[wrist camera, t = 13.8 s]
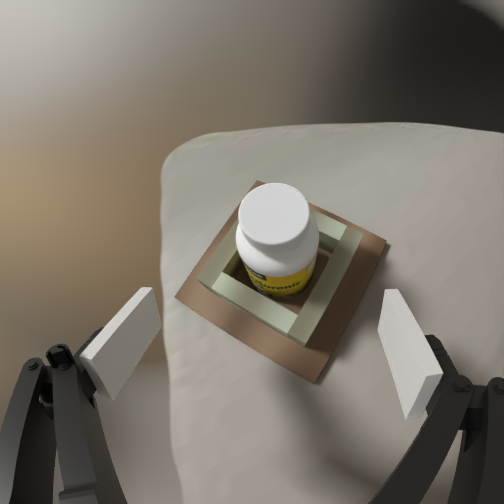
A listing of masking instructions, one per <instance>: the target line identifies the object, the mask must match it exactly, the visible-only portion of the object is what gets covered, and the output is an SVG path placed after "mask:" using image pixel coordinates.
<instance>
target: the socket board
mask: <svg viewBox="0 0 504 504" xmlns="http://www.w3.org/2000/svg"><path fill="white" fill-rule="evenodd" d="M264 184H265V183H263V182H260V181H258V180H257V181H256V182H255V184H254V185H253V186H252V188H251V189H250V190H249V192H250V191H252V190H253V189H255V188H257V187H259V186H261V185H264ZM249 192H248V193H249ZM248 193H247V194H248ZM247 194H246V195H247ZM241 202H242V201H241ZM240 204H241V203H240ZM240 204H239V205H238V207H237V208H236V210H235V211H234V212H233V214H232V215H231V216H230V218H229V219H228V221H227V222H226V223H225V225H224V226H223V228H222V229H221V230H220V232H219V233H218V235H217V236H216V237H215V239H214V240H213V242H212V243H211V245H210V246H209V247H208V249H207V250H206V252H205V253H204V255H203V256H202V257H201V259H200V260H199V262H198V263H197V265H196V266H195V268H194V269H193V270H192V272H191V273H190V275H189V276H188V278H187V279H186V281H185V282H184V284H183V285H182V287H181V288H180V290H179V291H178V292H177V294H176V295H175V298H176V299H178V300H179V301H181V302H182V303H183V304H185V305H186V306H188V307H189V308H191V309H192V310H194V311H195V312H197V313H198V314H199V315H201V316H202V317H204V318H205V319H207V320H208V321H210V322H211V323H213V324H215V325H216V326H218V327H219V328H221V329H222V330H224V331H225V332H227V333H228V334H230V335H232V336H233V337H235V338H236V339H238V340H240V341H241V342H243V343H244V344H246V345H248V346H249V347H251V348H252V349H254V350H256V351H257V352H259V353H261V354H262V355H264V356H266V357H267V358H269V359H271V360H273V361H274V362H276V363H278V364H279V365H281V366H283V367H285V368H286V369H288V370H290V371H292V372H293V373H295V374H297V375H299V376H301V377H302V378H304V379H306V380H308V381H310V382H311V383H313V384H314V382H315V381H316V379H317V377H318V376H319V374H320V372H321V371H322V369H323V367H324V366H325V364H326V362H327V361H328V359H329V357H330V355H331V354H332V352H333V350H334V348H335V347H336V345H337V343H338V341H339V339H340V337H341V336H342V334H343V332H344V330H345V328H346V326H347V324H348V323H349V321H350V319H351V317H352V315H353V313H354V311H355V309H356V307H357V305H358V303H359V301H360V299H361V297H362V295H363V293H364V291H365V289H366V286H367V284H368V282H369V280H370V278H371V276H372V274H373V271H374V269H375V267H376V265H377V262H378V260H379V258H380V255H381V253H382V251H383V248H384V246H385V244H386V240H384V239H383V238H381V237H379V236H377V235H375V234H373V233H371V232H369V231H367V230H365V229H363V228H361V227H359V226H357V225H355V224H353V223H351V222H349V221H347V220H345V219H343V218H340V217H338V216H336V215H334V214H332V213H330V212H328V211H326V210H324V209H321V208H319V207H317V206H315V205H313V204H311V203H308V204H309V208H310V212H311V214H312V215H313V217H314V218H315V220H316V223H317V225H318V229H319V245H318V250H317V256H316V261H315V267H314V272H313V276H312V279H311V281H310V283H309V284H308V286H307V287H306V288H305V290H304V291H302V292H301V293H300V294H298V295H297V296H295V297H292V298H289V299H273V298H270V297H268V296H266V295H264V294H262V293H261V292H260V291H259V290H258V289H257V288H256V287H255V286H254V284H253V282H252V281H251V279H250V276H249V274H248V272H247V270H246V268H245V266H244V263H243V261H242V259H241V257H240V255H239V252H238V249H237V245H236V230H237V227H238V224H239V219H238V212H239V207H240Z"/></svg>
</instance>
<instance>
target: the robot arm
mask: <svg viewBox="0 0 504 504" xmlns="http://www.w3.org/2000/svg"><path fill="white" fill-rule="evenodd" d="M161 327H162V324H161V320H160V316H159V313H158V308H157V305H156V300H155V296H154V292H153V288H144V287H141V289H140V290H139V291H138V292H137V293H136V294H135V295H134V296H133V297H132V298H131V299H130V300H129V301H128V302H127V303H126V305H125V306H124V307H123V308H122V309H121V310H120V311H119V312H118V313H117V314H116V315H115V316H114V318H113V319H112V320H111V321H110V322H109V323H108V324H107V325H106V326H105V327H102V328H100V329H99V330H97V331H95V332H94V334H92V336H91V337H90V339H88V340H87V341H86V343H85V344H83V346H82V347H81V348H80V349H79V350H78V351H77V352H76V354H75V355H74V356H72V354H71V352H70V350H69V347H68V346H67V345H65V344H57V345H55V346H53V347H51V348H50V349H49V350H48V351H47V352H46V357H47V359H48V361H49V363H50V364H51V366H45V365H44V363H43V361H42V359H40V358H32V359H30V360H28V361H27V362H26V363H25V364H24V366H23V368H22V370H21V373H20V375H19V378H18V381H17V383H16V386H15V388H14V391H13V394H12V397H11V399H10V402H9V405H8V408H7V411H6V415H5V418H4V421H3V424H2V428H1V431H0V504H53V478H54V467H55V457H56V448H57V450H58V457H59V463H60V469H61V475H62V480H63V485H64V491H62V492H60V493H59V501H60V504H127V501H126V499H125V496H124V494H123V491H122V489H121V486H120V483H119V480H118V478H117V475H116V472H115V469H114V466H113V463H112V460H111V457H110V453H109V450H108V447H107V443H106V440H105V436H104V432H103V429H102V425H101V420H100V417H99V412H98V408H97V403H96V399H95V397H94V395H93V394H94V393H95V391H96V390H97V391H98V393H99V395H100V397H101V398H104V399H106V400H110V401H114V399H115V398H116V396H117V395H118V393H119V391H120V390H121V388H122V387H123V385H124V383H125V382H126V380H127V379H128V377H129V376H130V374H131V373H132V371H133V369H134V368H135V366H136V365H137V363H138V362H139V360H140V358H141V357H142V356H143V354H144V353H145V351H146V350H147V348H148V346H149V345H150V343H151V342H152V340H153V339H154V337H155V336H156V334H157V333H158V331H159V330H160V328H161ZM377 331H378V333H379V336H380V339H381V342H382V345H383V348H384V351H385V354H386V357H387V360H388V363H389V366H390V369H391V372H392V375H393V378H394V381H395V385H396V388H397V391H398V395H399V398H400V402H401V405H402V409H403V412H404V416H405V420H408V419H414V418H419V417H421V416H422V415H423V413H424V411H425V409H426V411H427V414H428V417H427V419H426V420H425V422H424V424H423V425H422V427H421V429H420V431H419V433H418V434H417V436H416V438H415V439H414V441H413V443H412V444H411V446H410V447H409V449H408V450H407V452H406V454H405V455H404V457H403V458H402V460H401V461H400V463H399V464H398V465H397V467H396V468H395V470H394V471H393V472H392V474H391V475H390V477H389V478H388V479H387V481H386V482H385V483H384V485H383V486H382V487H381V488H380V490H379V491H378V492H377V494H376V495H375V496H374V497H373V498H372V500H371V501H370V502H369V503H368V504H419V503H420V501H421V500H422V498H423V497H424V495H425V493H426V492H427V490H428V489H429V487H430V485H431V483H432V482H433V480H434V478H435V476H436V475H437V473H438V471H439V469H440V467H441V465H442V463H443V461H444V460H445V458H446V456H447V453H448V451H449V449H450V447H451V445H452V443H453V441H454V439H455V436H456V434H457V432H458V430H463V433H462V440H461V446H460V452H459V457H458V463H457V467H456V472H455V476H454V481H453V485H452V489H451V492H450V496H449V499H448V503H447V504H504V378H500V377H495V378H493V379H491V380H490V382H489V383H488V385H487V386H479V385H472V382H471V381H470V380H469V379H468V378H467V377H465V376H462V375H459V374H458V372H457V371H456V369H455V367H454V365H453V363H452V361H451V359H450V357H449V356H448V355H447V352H446V350H445V349H444V347H443V345H442V343H441V341H440V340H439V339H438V338H436V337H435V336H434V335H424V334H423V332H422V330H421V329H420V327H419V325H418V323H417V321H416V319H415V318H414V316H413V314H412V312H411V311H410V309H409V307H408V305H407V304H406V302H405V300H404V299H403V297H402V295H401V294H400V292H399V290H398V289H385V292H384V298H383V304H382V310H381V315H380V320H379V325H378V330H377ZM39 397H40V398H41V399H40V402H39Z"/></svg>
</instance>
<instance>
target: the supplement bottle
mask: <svg viewBox="0 0 504 504" xmlns="http://www.w3.org/2000/svg"><path fill="white" fill-rule="evenodd" d="M238 219H239V224H238V227H237V230H236V245H237V249H238V252H239V255H240V257H241V259H242V261H243V263H244V266H245V268H246V270H247V272H248V274H249V276H250V279H251V281H252V282H253V284H254V286H255V287H256V288H257V289H258V290H259V291H260V292H261V293H262V294H264V295H266V296H268V297H270V298H273V299H289V298H292V297H295V296H297V295H298V294H300V293H301V292H302V291H304V290H305V288H306V287H307V286H308V284H309V283H310V281H311V279H312V276H313V272H314V267H315V261H316V256H317V250H318V245H319V229H318V225H317V223H316V220H315V218H314V217H313V215H312V214H311V212H310V208H309V204H308V202H307V200H306V198H305V197H304V195H303V194H302V193H301V192H300V191H298V190H297V189H295V188H294V187H292V186H289V185H286V184H282V183H269V184H264V185H261V186H259V187H257V188H255V189H253V190H252V191H250V192H249V193H248V194H247V195H246V196H245V197H244V199H243V200H242V202H241V204H240V207H239V212H238Z"/></svg>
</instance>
